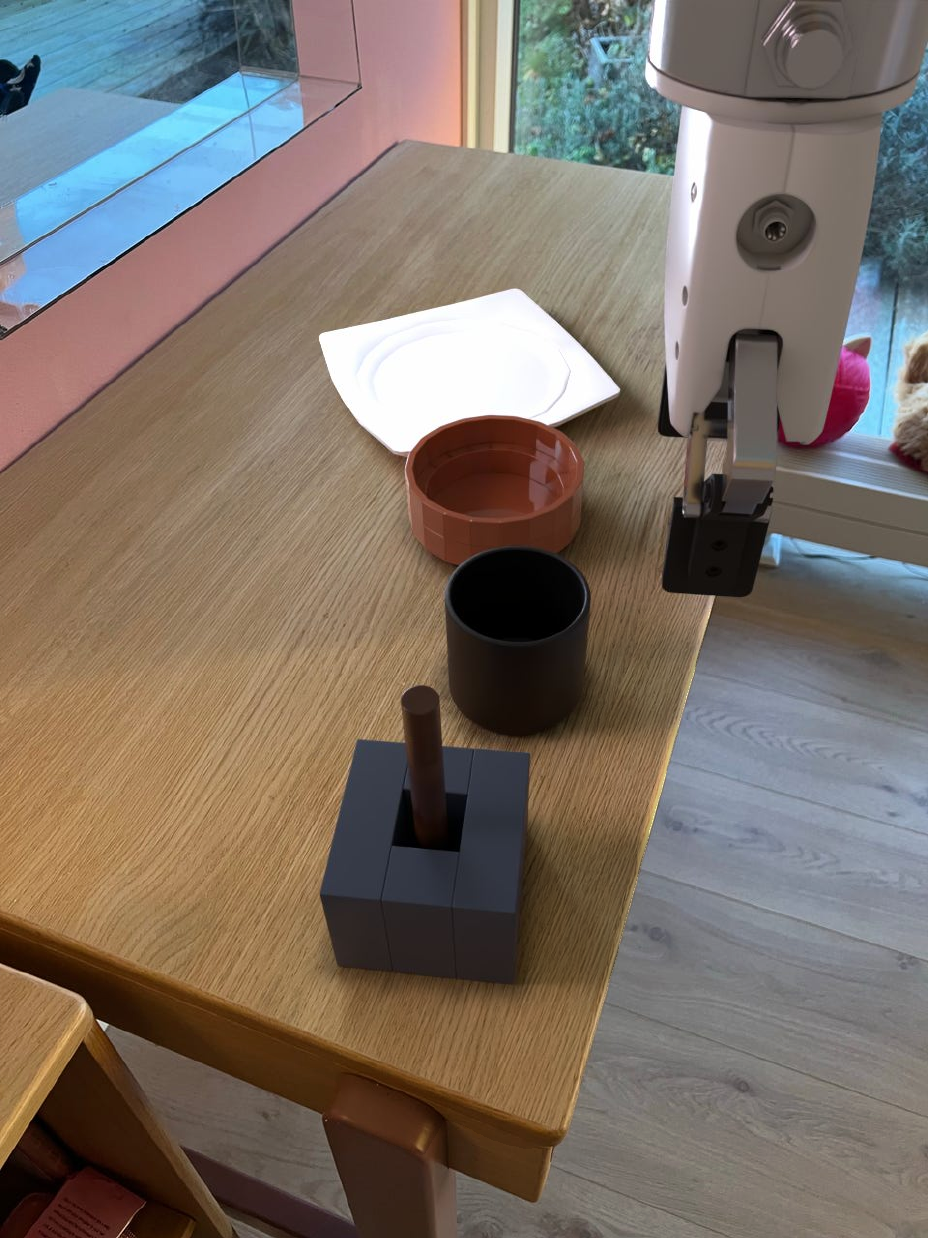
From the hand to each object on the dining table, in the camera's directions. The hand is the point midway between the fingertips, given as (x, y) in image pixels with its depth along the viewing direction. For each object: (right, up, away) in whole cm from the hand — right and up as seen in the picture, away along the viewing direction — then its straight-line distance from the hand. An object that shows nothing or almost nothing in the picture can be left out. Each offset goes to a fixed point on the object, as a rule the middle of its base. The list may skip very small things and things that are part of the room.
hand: (699, 505), depth 40 cm
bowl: (-7, +4, +44) cm, 45 cm away
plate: (-9, +18, +58) cm, 62 cm away
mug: (-5, -8, +32) cm, 33 cm away
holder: (-11, -21, +19) cm, 31 cm away
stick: (-11, -21, +19) cm, 31 cm away
